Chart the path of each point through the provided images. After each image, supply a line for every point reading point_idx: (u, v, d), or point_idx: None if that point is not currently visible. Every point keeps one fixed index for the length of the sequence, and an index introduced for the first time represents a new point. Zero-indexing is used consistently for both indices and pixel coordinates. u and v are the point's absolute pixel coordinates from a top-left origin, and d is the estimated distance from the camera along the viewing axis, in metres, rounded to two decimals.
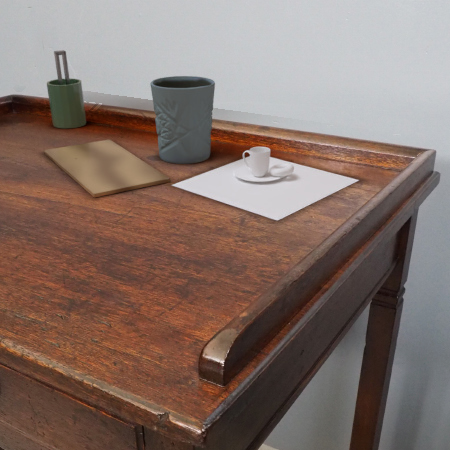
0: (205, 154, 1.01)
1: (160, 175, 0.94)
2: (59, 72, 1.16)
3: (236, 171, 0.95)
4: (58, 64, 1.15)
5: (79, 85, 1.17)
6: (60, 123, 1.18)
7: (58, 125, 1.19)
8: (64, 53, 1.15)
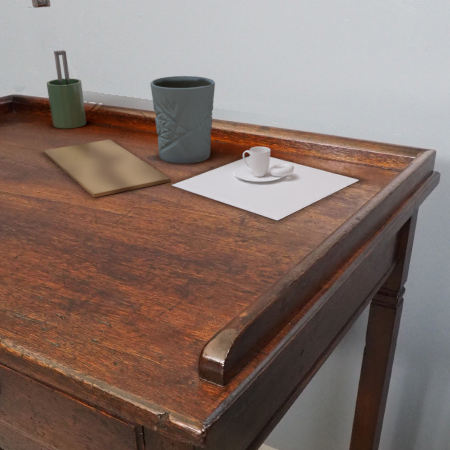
0: (205, 154, 1.01)
1: (160, 175, 0.94)
2: (59, 72, 1.16)
3: (236, 171, 0.95)
4: (58, 64, 1.15)
5: (79, 85, 1.17)
6: (60, 123, 1.18)
7: (58, 125, 1.19)
8: (64, 53, 1.15)
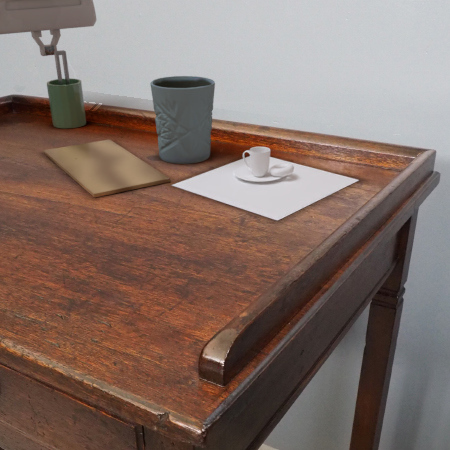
0: (205, 154, 1.01)
1: (160, 175, 0.94)
2: (59, 72, 1.16)
3: (236, 171, 0.95)
4: (58, 64, 1.15)
5: (79, 85, 1.17)
6: (60, 123, 1.18)
7: (58, 125, 1.19)
8: (64, 53, 1.15)
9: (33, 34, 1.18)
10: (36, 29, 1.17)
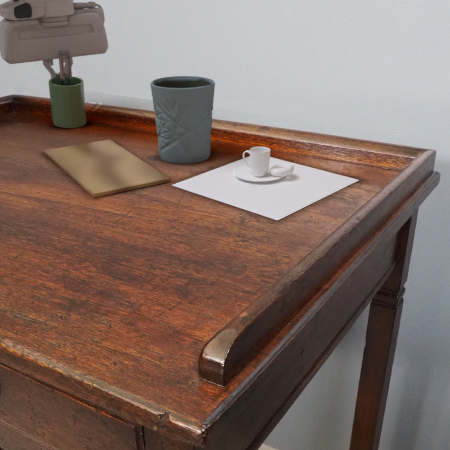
0: (205, 154, 1.01)
1: (160, 175, 0.94)
2: (62, 72, 1.15)
3: (236, 171, 0.95)
4: (62, 64, 1.14)
5: (81, 86, 1.16)
6: (60, 122, 1.18)
7: (58, 124, 1.19)
8: (68, 54, 1.13)
9: (45, 62, 1.17)
10: (48, 58, 1.16)
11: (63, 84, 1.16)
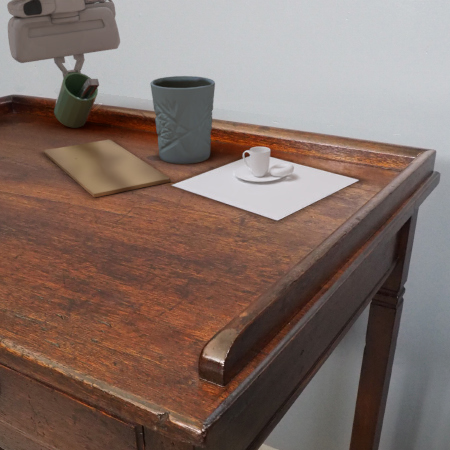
0: (205, 154, 1.01)
1: (160, 175, 0.94)
2: (83, 93, 1.11)
3: (236, 171, 0.95)
4: (86, 90, 1.10)
5: (94, 98, 1.15)
6: (62, 120, 1.17)
7: (59, 119, 1.18)
8: (97, 86, 1.09)
9: (56, 60, 1.14)
10: (60, 55, 1.12)
11: None
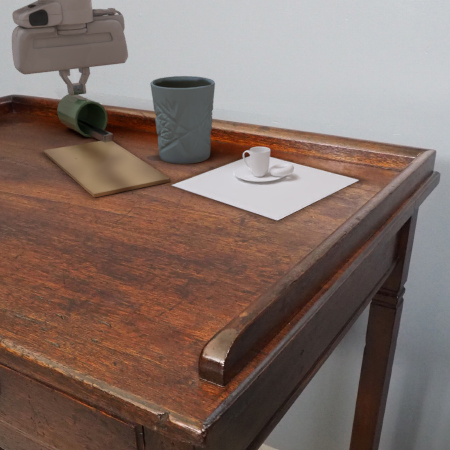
0: (205, 154, 1.01)
1: (160, 175, 0.94)
2: None
3: (236, 171, 0.95)
4: None
5: None
6: (64, 124, 1.17)
7: None
8: None
9: (61, 73, 1.10)
10: (65, 68, 1.08)
11: (90, 134, 1.13)
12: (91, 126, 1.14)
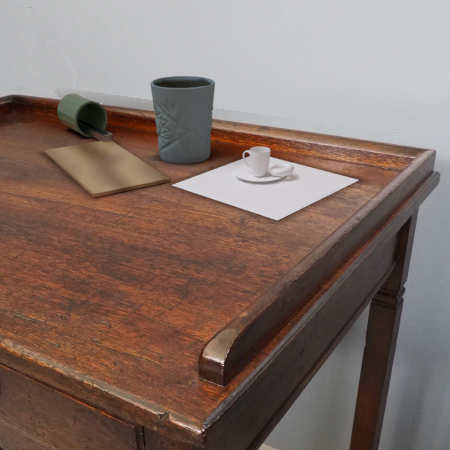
0: (205, 154, 1.01)
1: (160, 175, 0.94)
2: None
3: (236, 171, 0.95)
4: None
5: None
6: (64, 124, 1.17)
7: None
8: None
9: None
10: None
11: (90, 134, 1.13)
12: (91, 126, 1.14)
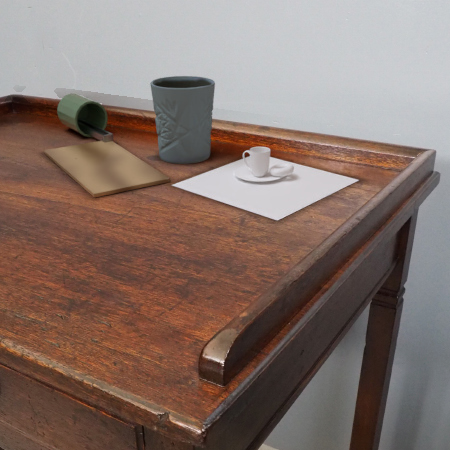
0: (205, 154, 1.01)
1: (160, 175, 0.94)
2: None
3: (236, 171, 0.95)
4: None
5: None
6: (64, 124, 1.17)
7: None
8: None
9: None
10: None
11: (90, 134, 1.13)
12: (91, 126, 1.14)
